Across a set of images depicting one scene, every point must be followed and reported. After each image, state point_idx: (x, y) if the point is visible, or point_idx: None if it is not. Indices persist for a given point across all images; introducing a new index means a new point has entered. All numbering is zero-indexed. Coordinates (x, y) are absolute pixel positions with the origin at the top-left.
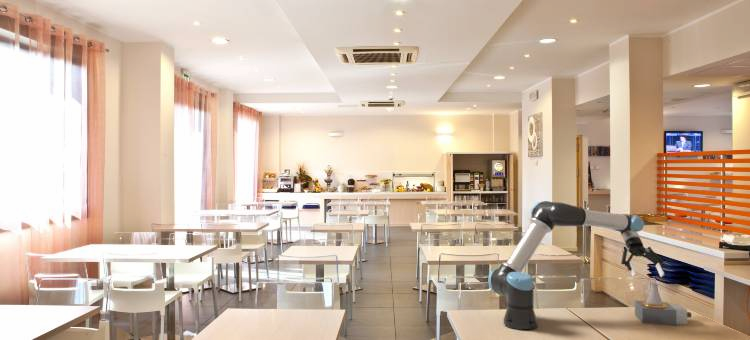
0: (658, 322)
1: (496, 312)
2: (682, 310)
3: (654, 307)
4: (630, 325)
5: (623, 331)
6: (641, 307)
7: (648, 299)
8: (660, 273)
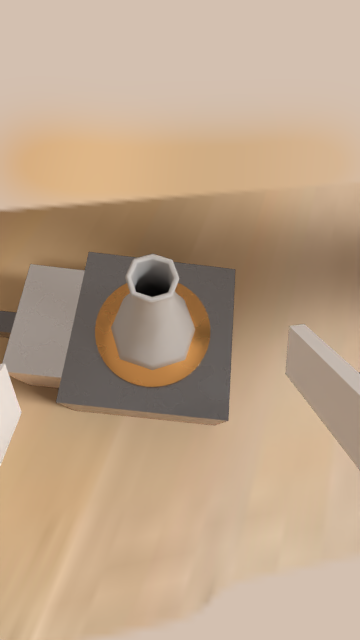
0: None
1: None
2: (51, 269)
3: None
4: (275, 266)
5: (313, 202)
6: (234, 285)
7: (188, 317)
8: (6, 411)
